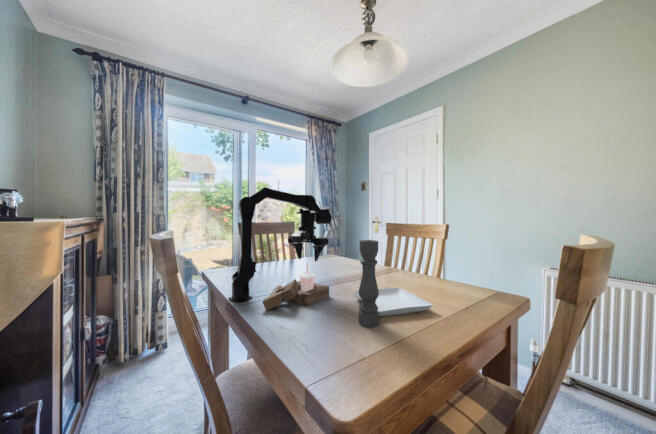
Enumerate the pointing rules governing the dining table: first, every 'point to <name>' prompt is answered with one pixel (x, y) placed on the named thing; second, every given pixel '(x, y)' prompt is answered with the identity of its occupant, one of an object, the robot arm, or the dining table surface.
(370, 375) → the dining table surface
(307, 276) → the beverage cup
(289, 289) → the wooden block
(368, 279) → the candle holder
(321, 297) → the holder block
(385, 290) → the salad plate
